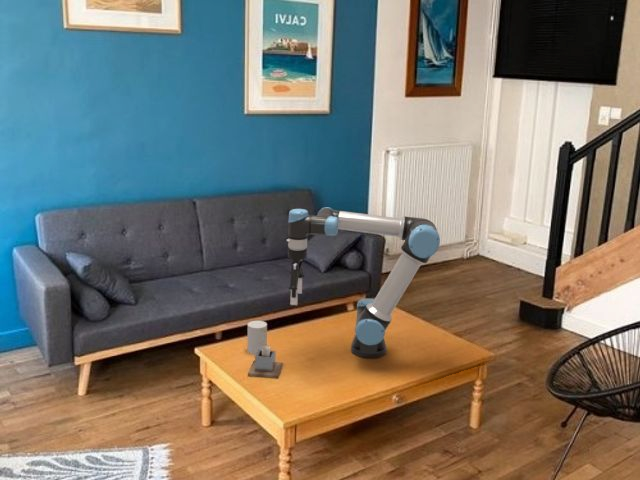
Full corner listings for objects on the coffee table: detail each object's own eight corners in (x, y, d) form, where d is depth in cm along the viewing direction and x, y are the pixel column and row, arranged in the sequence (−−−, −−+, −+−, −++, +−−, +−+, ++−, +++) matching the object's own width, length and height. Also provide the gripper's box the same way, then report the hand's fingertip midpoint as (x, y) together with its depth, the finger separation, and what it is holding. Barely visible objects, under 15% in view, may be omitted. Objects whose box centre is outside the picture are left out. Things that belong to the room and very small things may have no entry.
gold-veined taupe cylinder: (263, 355, 284) (263, 329, 280) (244, 353, 285) (245, 326, 282) (268, 347, 291) (269, 321, 288) (250, 345, 293) (250, 319, 290)
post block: (282, 365, 275) (283, 341, 273) (278, 378, 264) (278, 354, 261) (253, 362, 277) (253, 339, 274) (247, 376, 265) (247, 352, 262)
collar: (275, 364, 273) (275, 350, 271) (272, 372, 266) (272, 358, 265) (258, 363, 274) (258, 349, 272) (254, 370, 267) (255, 356, 265)
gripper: (292, 239, 281) (291, 288, 286) (283, 256, 257) (282, 309, 262) (310, 240, 280) (309, 289, 285) (302, 257, 256) (301, 310, 262)
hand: (296, 298), depth 274 cm, fingers open, 13 cm apart
